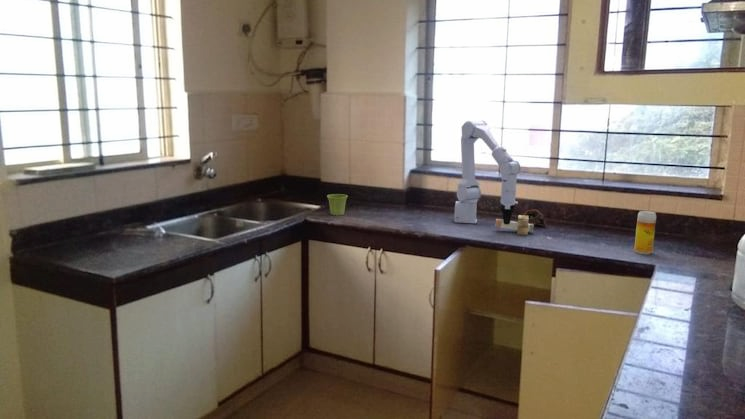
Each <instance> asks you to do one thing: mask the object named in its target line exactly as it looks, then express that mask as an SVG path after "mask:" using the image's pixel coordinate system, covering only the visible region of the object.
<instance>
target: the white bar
mask: <svg viewBox="0 0 745 419" xmlns="http://www.w3.org/2000/svg"><path fill="white" fill-rule="evenodd" d="M494 226H495V227H496V228H500V229H501V228H502V229H508V230H514V231H517V230H518V221H514V220H510V223H509V224H504V222H503V219H502V218H495V225H494ZM495 227H494V228H495ZM534 227H535V226H534V224H528V233H533V232H534Z"/></svg>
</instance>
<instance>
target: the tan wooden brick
mask: <svg viewBox="0 0 745 419" xmlns="http://www.w3.org/2000/svg"><path fill="white" fill-rule="evenodd" d="M528 220H529V218H528V216H525V215H524V214H523V215H522V214H521V215H520V214H519V215H518V216H517V222H518V230H516V231H517V232H516V233H517V235H527V236H528V234H529V232H528Z"/></svg>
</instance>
